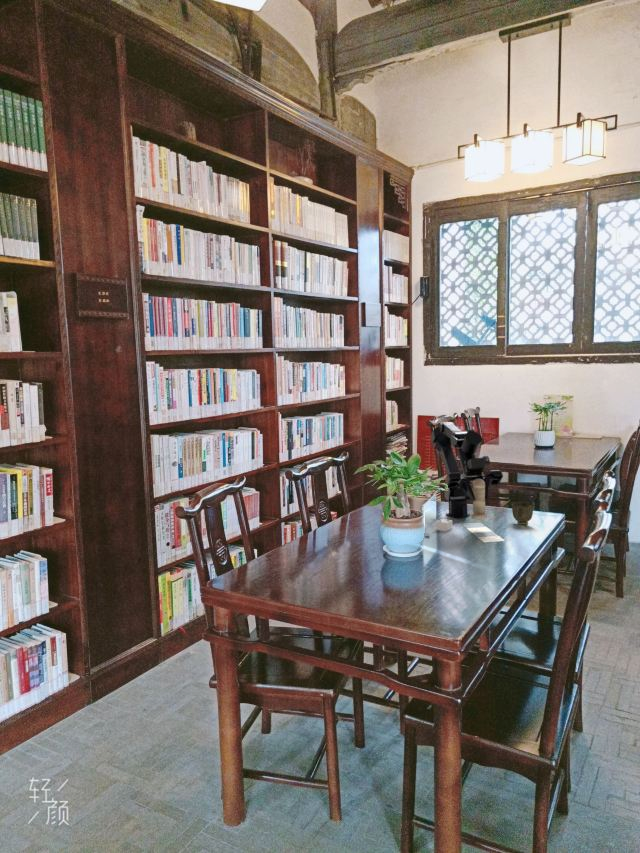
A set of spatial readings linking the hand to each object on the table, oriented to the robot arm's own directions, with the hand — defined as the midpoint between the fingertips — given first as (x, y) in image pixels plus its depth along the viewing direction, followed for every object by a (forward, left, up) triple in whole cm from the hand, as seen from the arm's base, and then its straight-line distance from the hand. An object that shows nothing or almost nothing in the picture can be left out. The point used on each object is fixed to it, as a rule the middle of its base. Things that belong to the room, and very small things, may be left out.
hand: (480, 499), depth 203 cm
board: (+1, -1, -12) cm, 12 cm away
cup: (+3, +18, -12) cm, 22 cm away
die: (-9, -8, -12) cm, 17 cm away
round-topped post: (-1, +1, -6) cm, 7 cm away
